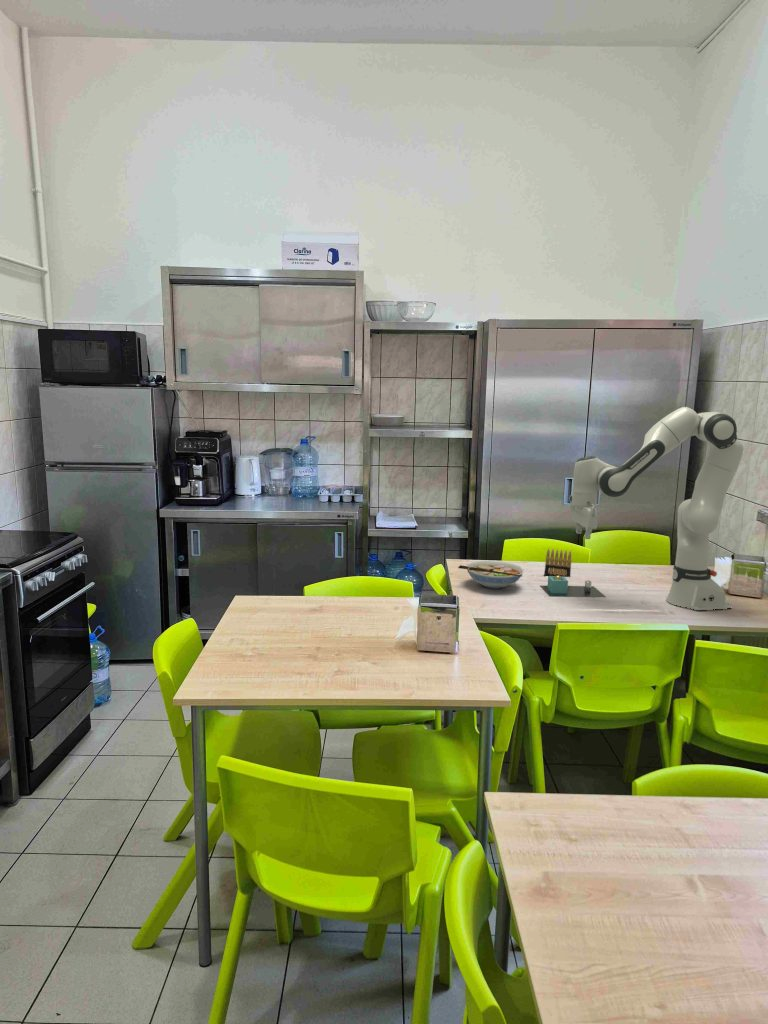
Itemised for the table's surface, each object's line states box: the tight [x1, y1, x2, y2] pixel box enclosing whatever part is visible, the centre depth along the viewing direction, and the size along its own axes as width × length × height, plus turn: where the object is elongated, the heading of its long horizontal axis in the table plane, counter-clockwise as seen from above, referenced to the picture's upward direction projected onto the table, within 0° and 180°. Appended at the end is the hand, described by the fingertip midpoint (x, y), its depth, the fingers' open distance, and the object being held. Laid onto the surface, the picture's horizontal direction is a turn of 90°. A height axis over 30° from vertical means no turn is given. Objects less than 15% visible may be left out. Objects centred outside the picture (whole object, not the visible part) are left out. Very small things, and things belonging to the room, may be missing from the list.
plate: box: [539, 576, 607, 598], centre depth 263 cm, size 22×14×7 cm, turn 93°
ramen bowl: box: [457, 560, 525, 590], centre depth 269 cm, size 25×23×8 cm
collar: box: [546, 576, 569, 594], centre depth 262 cm, size 6×6×5 cm
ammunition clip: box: [543, 548, 572, 578], centre depth 284 cm, size 11×2×12 cm, turn 72°
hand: (582, 536), depth 256 cm, fingers open, 8 cm apart
